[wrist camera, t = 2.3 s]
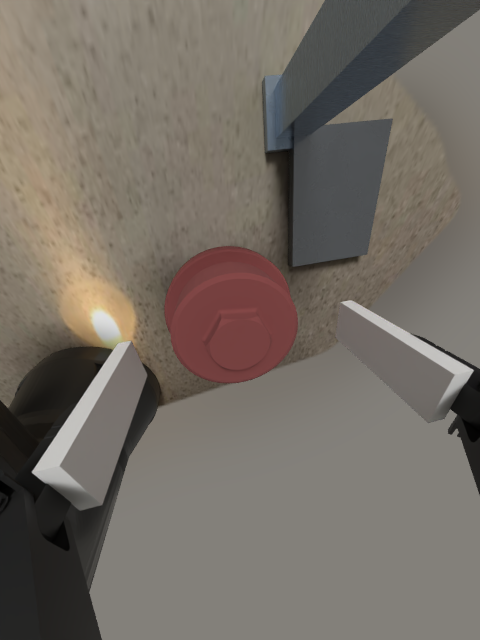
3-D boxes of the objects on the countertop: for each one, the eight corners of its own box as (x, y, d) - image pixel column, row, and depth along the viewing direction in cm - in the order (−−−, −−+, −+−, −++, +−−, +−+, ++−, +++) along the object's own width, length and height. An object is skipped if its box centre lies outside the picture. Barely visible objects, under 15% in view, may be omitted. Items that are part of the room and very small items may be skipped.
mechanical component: (267, 237, 21) (261, 319, 26) (169, 237, 19) (182, 325, 24) (335, 259, 10) (304, 394, 15) (131, 264, 9) (167, 413, 13)
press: (270, 267, 23) (344, 323, 11) (262, 82, 16) (450, -330, 4) (359, 252, 24) (515, 289, 12) (390, 73, 17) (846, -271, 5)
